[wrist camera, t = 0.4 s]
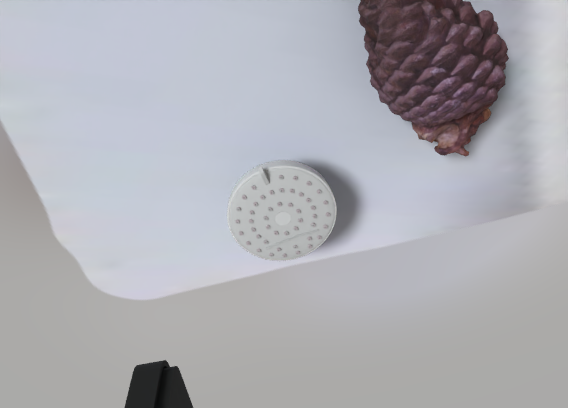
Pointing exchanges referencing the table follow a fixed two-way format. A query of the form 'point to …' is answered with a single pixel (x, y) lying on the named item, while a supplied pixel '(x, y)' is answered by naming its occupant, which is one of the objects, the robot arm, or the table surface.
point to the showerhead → (281, 210)
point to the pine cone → (435, 65)
